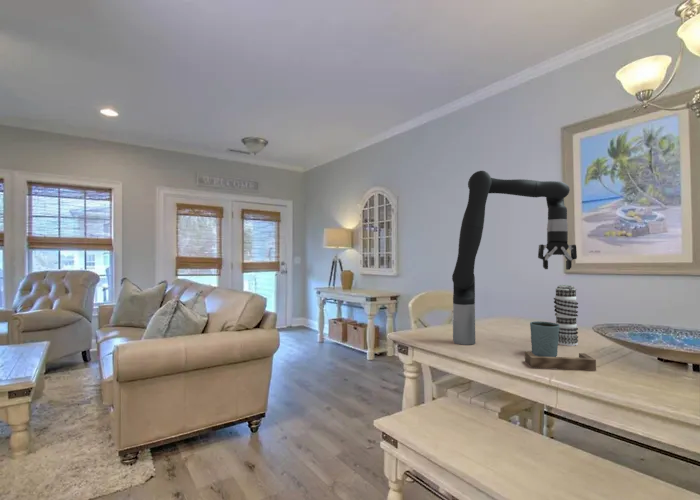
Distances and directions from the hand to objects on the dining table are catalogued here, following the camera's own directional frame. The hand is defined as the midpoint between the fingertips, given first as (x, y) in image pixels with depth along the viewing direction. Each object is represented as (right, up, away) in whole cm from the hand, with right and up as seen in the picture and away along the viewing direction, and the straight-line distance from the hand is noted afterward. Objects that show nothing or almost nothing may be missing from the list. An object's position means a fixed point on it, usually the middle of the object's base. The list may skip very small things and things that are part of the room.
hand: (557, 269), depth 155 cm
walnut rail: (-14, -32, -26) cm, 43 cm away
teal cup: (-11, -33, -12) cm, 36 cm away
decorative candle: (+7, -33, +5) cm, 34 cm away
